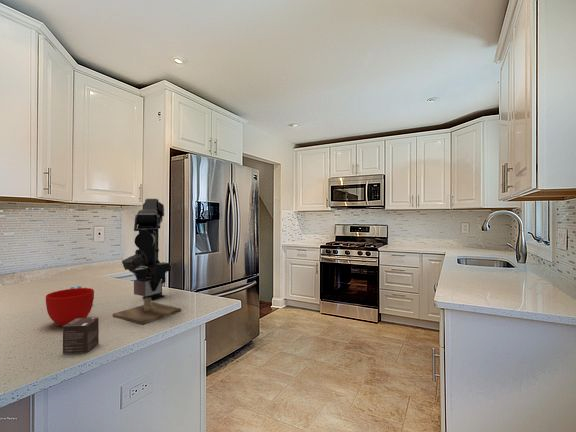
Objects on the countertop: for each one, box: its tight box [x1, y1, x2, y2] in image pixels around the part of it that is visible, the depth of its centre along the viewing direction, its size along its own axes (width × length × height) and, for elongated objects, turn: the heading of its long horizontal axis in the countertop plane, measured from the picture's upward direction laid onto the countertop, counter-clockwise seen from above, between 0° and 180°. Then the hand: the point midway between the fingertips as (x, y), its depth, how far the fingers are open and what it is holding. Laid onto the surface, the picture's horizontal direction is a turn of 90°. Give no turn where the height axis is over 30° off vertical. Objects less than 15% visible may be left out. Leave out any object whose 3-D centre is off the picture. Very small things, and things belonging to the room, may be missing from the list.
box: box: [62, 317, 100, 355], centre depth 81 cm, size 6×6×7 cm
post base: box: [112, 298, 182, 326], centre depth 110 cm, size 16×16×6 cm
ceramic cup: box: [45, 287, 95, 328], centre depth 102 cm, size 13×17×10 cm
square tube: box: [133, 277, 161, 297], centre depth 110 cm, size 6×6×5 cm
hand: (147, 289), depth 110 cm, fingers closed on square tube, 6 cm apart
